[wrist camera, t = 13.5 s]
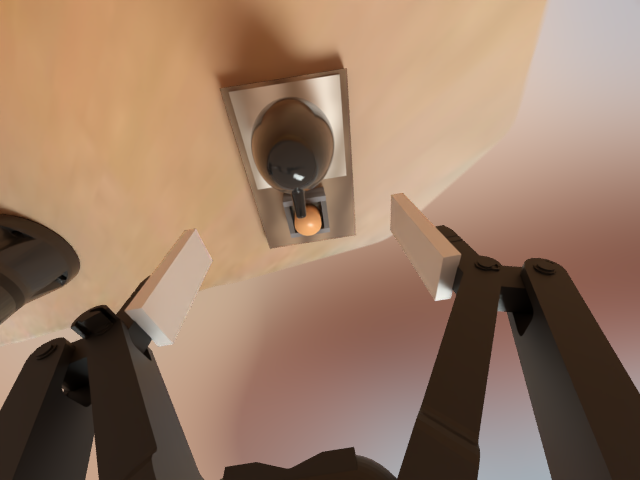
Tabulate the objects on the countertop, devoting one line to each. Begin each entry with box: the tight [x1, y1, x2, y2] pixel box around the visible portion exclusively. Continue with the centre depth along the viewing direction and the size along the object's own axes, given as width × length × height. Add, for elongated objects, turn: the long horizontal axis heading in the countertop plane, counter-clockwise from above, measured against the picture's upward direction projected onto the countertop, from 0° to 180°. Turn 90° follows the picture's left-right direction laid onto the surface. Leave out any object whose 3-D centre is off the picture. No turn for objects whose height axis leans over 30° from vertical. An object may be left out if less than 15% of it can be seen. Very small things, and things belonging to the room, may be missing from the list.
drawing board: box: [220, 68, 356, 248], centre depth 36 cm, size 16×25×6 cm, turn 8°
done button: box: [295, 203, 322, 236], centre depth 36 cm, size 4×4×3 cm
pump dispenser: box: [251, 97, 335, 219], centre depth 27 cm, size 10×10×15 cm
